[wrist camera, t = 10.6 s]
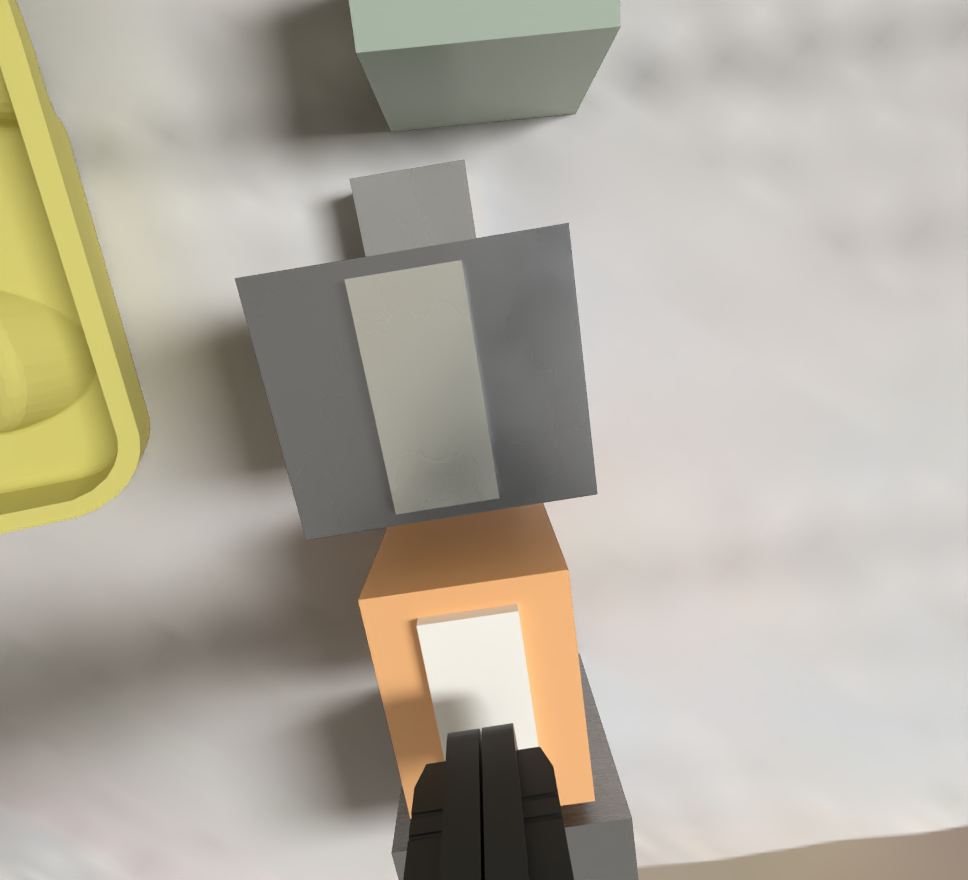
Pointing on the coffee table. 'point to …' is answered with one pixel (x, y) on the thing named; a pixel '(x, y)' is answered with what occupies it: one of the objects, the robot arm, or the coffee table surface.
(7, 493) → the plastic component
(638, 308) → the coffee table surface
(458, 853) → the robot arm
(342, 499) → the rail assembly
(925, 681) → the coffee table surface
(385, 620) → the orange module
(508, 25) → the green block
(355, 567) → the coffee table surface
